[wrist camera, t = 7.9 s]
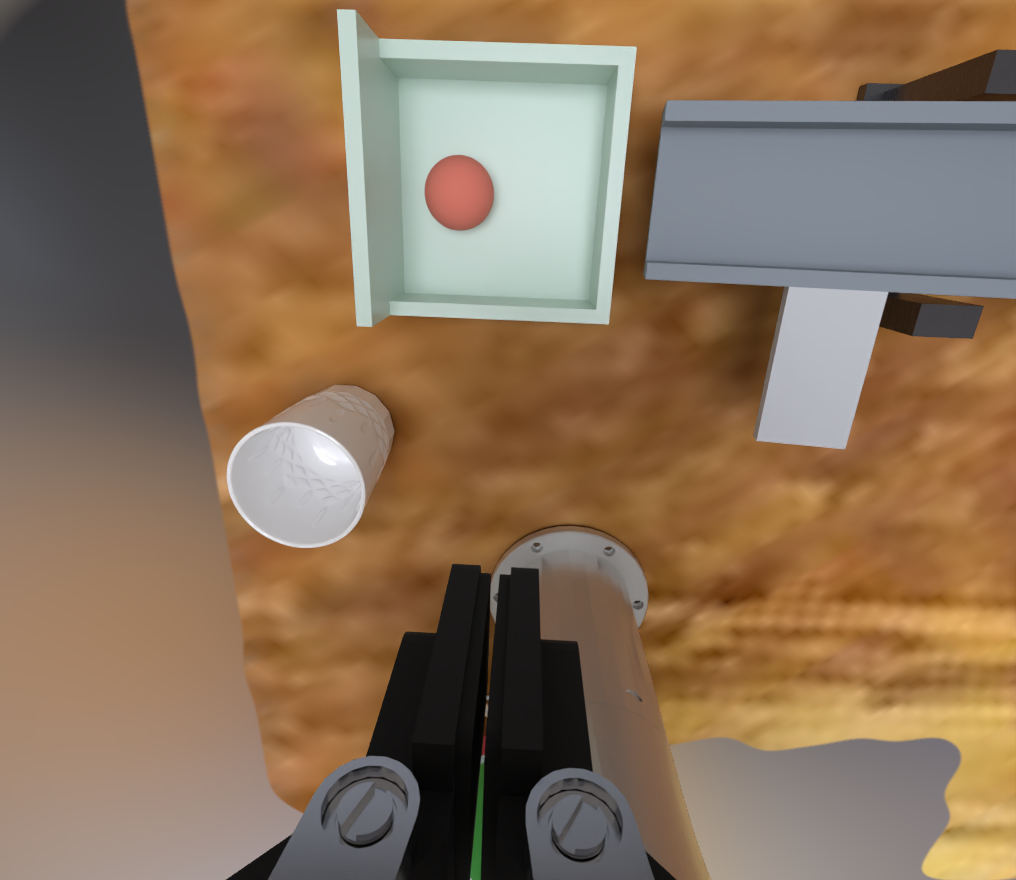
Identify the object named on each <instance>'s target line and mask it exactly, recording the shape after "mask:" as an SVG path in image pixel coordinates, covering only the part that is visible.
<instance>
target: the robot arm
mask: <svg viewBox="0 0 1016 880" xmlns="http://www.w3.org/2000/svg"><path fill="white" fill-rule="evenodd" d="M535 543H538V544H535ZM609 546H610V547H609ZM648 597H649V594H648V587H647V581H646V578H645V575H644V572H643V570H642V568H641V566H640V564H639V562H638V560H637V558H636V557H635V556H634V555H633V554H632V552H631V551H630V550H629V549H628V548H627V547H626V546H625V545H623V544H622V543H621V542H619V541H618V540H617V539H615V538H613V537H611V536H609V535H607V534H606V533H604V532H600V531H597V530H594V529H591V528H585V527H578V526H558V527H553V528H548V529H543V530H540V531H538V532H535V533H533V534H530V535H528V536H526V537H525V538H523V539H521V540H520V541H518V542H516V543H515V544H514V545H513V546H512V547H511V548H510V549H509V550H507V551H506V552H505V554H504V555H503V556H502V558H501V559H500V560H499V562H498V563H497V565H496V568H495V570H494V572H493V574H492V579H491V574H489V573H481V566H480V565H463V564H453V565H452V568H451V572H450V576H449V581H448V585H447V590H446V594H445V598H444V603H443V607H442V611H441V616H440V620H439V624H438V629H437V633H422V632H406V633H405V634H404V636H403V639H402V642H401V645H400V648H399V651H398V655H397V658H396V661H395V664H394V668H393V671H392V674H391V677H390V681H389V684H388V687H387V690H386V694H385V697H384V700H383V703H382V707H381V710H380V713H379V716H378V720H377V723H376V726H375V729H374V733H373V736H372V739H371V742H370V746H369V749H368V752H367V755H366V757H363V758H359V759H354V760H352V761H350V762H348V763H346V764H344V765H342V766H340V767H338V768H337V769H336V770H335V771H334V772H332V773H331V774H330V775H329V776H328V777H327V778H325V780H324V781H323V782H322V784H321V785H320V786H319V788H318V789H317V791H316V792H315V793H314V795H313V797H312V799H311V801H310V803H309V805H308V806H307V808H306V810H305V812H304V814H303V816H302V818H301V819H300V821H299V823H298V825H297V827H296V829H295V831H294V832H293V834H292V835H290V836H289V837H287V838H286V839H284V840H283V841H282V842H280V843H279V844H277V845H276V846H274V847H273V848H271V849H270V850H269V851H267V852H266V853H264V854H263V855H261V856H260V857H258V858H257V859H255V860H254V861H253V862H251V863H250V864H248V865H247V866H245V867H244V868H242V869H241V870H239V871H238V872H237V873H235V874H234V875H232V876H231V877H229V878H228V879H226V880H470V874H471V863H472V852H473V841H474V831H475V820H476V809H477V798H478V787H479V776H480V765H481V754H482V743H483V732H484V722H485V711H486V700H487V684H488V655H489V625H490V610H491V614H492V617H493V619H494V622H495V634H494V645H493V657H492V668H491V680H490V691H489V703H488V714H487V726H486V739H485V757H484V786H483V818H482V849H481V880H711V879H710V876H709V873H708V871H707V868H706V865H705V863H704V860H703V858H702V855H701V852H700V849H699V846H698V842H697V840H696V836H695V833H694V830H693V827H692V824H691V821H690V817H689V814H688V811H687V807H686V804H685V800H684V797H683V793H682V790H681V786H680V783H679V779H678V775H677V772H676V768H675V764H674V760H673V757H672V753H671V749H670V745H669V742H668V738H667V734H666V730H665V727H664V723H663V719H662V715H661V712H660V708H659V704H658V701H657V697H656V693H655V689H654V686H653V682H652V678H651V674H650V671H649V667H648V663H647V659H646V656H645V652H644V648H643V644H642V641H641V637H640V633H639V629H638V628H639V627H640V625H641V623H642V622H643V620H644V617H645V614H646V611H647V608H648Z"/></svg>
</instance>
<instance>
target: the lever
mask: <svg viewBox="0 0 1016 880" xmlns="http://www.w3.org/2000/svg"><path fill="white" fill-rule="evenodd" d="M643 275H644V277H645V279H651V280H670V281H689V282H708V283H727V284H746V285H765V286H784V291H783V296H782V300H781V305H780V310H779V315H778V320H777V324H776V329H775V334H774V339H773V343H772V348H771V353H770V358H769V363H768V367H767V372H766V377H765V382H764V387H763V391H762V396H761V401H760V406H759V411H758V415H757V420H756V425H755V430H754V434H753V436H754V438H755V439H756V441H764V442H775V443H785V444H796V445H806V446H817V447H828V448H838V449H845V448H846V444H847V441H848V437H849V433H850V430H851V426H852V422H853V419H854V415H855V412H856V408H857V404H858V401H859V397H860V393H861V390H862V386H863V382H864V379H865V375H866V372H867V368H868V364H869V361H870V357H871V353H872V350H873V346H874V343H875V339H876V335H877V332H878V328H879V324H880V321H881V317H882V313H883V310H884V306H885V303H886V299H887V295H888V292H899V293H918V294H937V295H956V296H975V297H994V298H1013V299H1016V101H667V102H666V105H665V107H664V110H663V114H662V122H661V130H660V139H659V147H658V156H657V164H656V172H655V181H654V189H653V198H652V206H651V215H650V223H649V231H648V240H647V248H646V257H645V265H644V273H643Z"/></svg>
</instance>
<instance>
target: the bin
mask: <svg viewBox="0 0 1016 880" xmlns="http://www.w3.org/2000/svg"><path fill="white" fill-rule="evenodd" d="M337 16H338V32H339V48H340V65H341V81H342V97H343V113H344V129H345V145H346V161H347V177H348V193H349V209H350V225H351V242H352V258H353V274H354V290H355V306H356V322H357V326H367V327H372V326H374V325H375V324H377V323H379V322H380V321H382V320H383V319H385V318H386V317H388V316H389V315H401V316H425V317H449V318H472V319H496V320H520V321H544V322H567V323H591V324H609V317H610V307H611V297H612V287H613V277H614V267H615V257H616V247H617V237H618V228H619V218H620V208H621V198H622V188H623V178H624V168H625V158H626V148H627V138H628V128H629V118H630V108H631V98H632V88H633V78H634V68H635V58H636V49H637V47H627V46H595V45H563V44H531V43H499V42H467V41H436V40H404V39H379V38H378V37H377V36H376V35H375V33H374V32H373V31H372V30H371V28H370V27H369V26H368V25H367V24H366V22H365V21H364V20H363V19H362V17H361V16H360V15H359V14H358V13H357V11H356V10H338V9H337ZM452 155H465V156H468V157H471V158H473V159H475V160H476V161H478V162H479V163H480V164H482V165H483V167H484V168H485V169H486V170H487V172H488V173H489V175H490V177H491V180H492V183H493V188H494V200H493V205H492V208H491V210H490V212H489V214H488V216H487V217H486V218H485V220H484V221H483V222H482V223H480V224H479V225H478V226H476V227H474V228H471V229H469V230H461V231H459V230H452V229H449V228H447V227H445V226H443V225H442V224H440V223H439V222H438V221H437V220H436V219H435V218H434V217H433V216H432V214H431V213H430V211H429V209H428V207H427V204H426V200H425V193H424V191H425V182H426V179H427V176H428V174H429V172H430V170H431V169H432V168H433V166H434V165H435V164H436V163H437V162H439V161H440V160H441V159H443V158H445V157H448V156H452Z"/></svg>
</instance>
